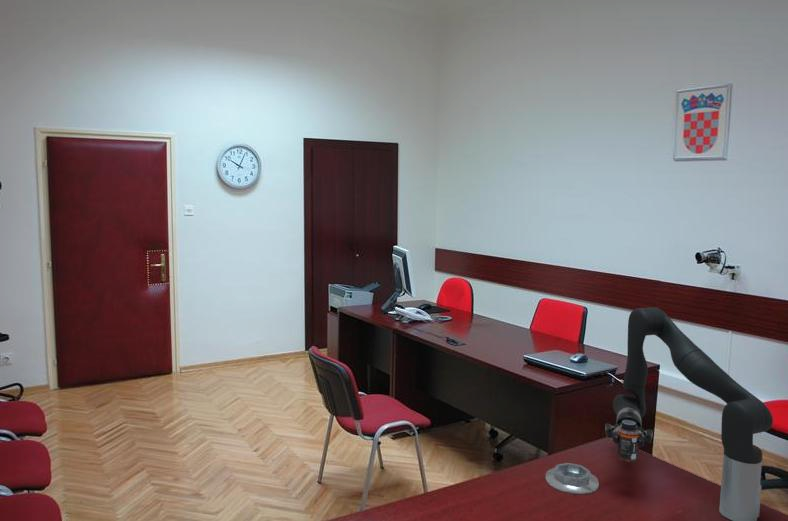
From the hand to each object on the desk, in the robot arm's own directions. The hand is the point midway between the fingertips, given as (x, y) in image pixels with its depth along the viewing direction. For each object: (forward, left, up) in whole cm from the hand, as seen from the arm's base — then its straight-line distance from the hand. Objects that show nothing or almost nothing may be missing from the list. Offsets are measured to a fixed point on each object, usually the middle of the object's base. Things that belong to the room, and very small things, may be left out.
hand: (628, 442), depth 171 cm
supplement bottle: (-2, -2, -6) cm, 7 cm away
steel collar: (+8, -14, -17) cm, 24 cm away
